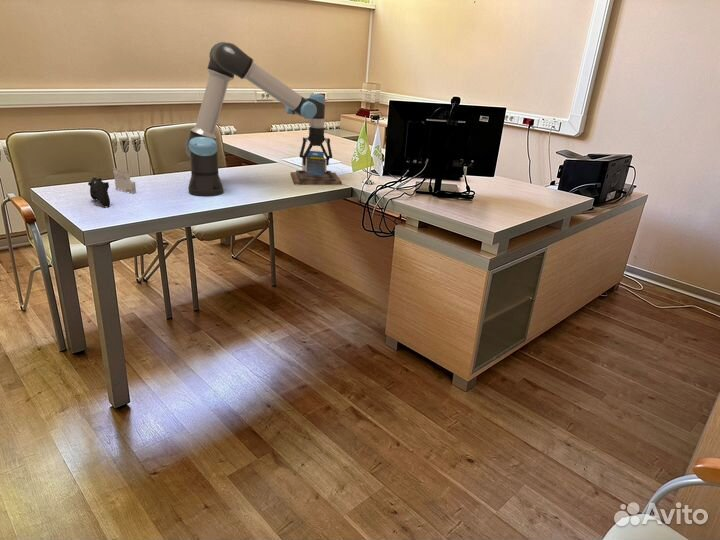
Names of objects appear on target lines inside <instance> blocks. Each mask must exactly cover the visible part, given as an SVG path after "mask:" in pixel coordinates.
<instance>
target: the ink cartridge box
mask: <svg viewBox="0 0 720 540" xmlns="http://www.w3.org/2000/svg"><path fill="white" fill-rule="evenodd" d="M112 171H113V176H114V185H115V190H116V189H119V190H118V191H120V190H122V191H121V192H124V191H125V192H124V193H127V192H129V193H128V194H131V193H133V194H136V193H137V190H136V186H137V185H136V181H135V180H131V175H130V171H128V170H124V169H120V168H115V167H112ZM120 172H121V173H120ZM122 173H123V174H122Z"/></svg>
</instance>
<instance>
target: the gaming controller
mask: <svg viewBox="0 0 720 540" xmlns="http://www.w3.org/2000/svg"><path fill="white" fill-rule="evenodd" d="M109 183H110V182H108V181H107V182H105V181H104V182H103V180H102V178H101V177H100V178H97V177H92V179H91V180H90V181H88V183H87V184H88V186H90V187H89V194H90V197H91V199H92V200H94V199H98V200H97V202H99V203H100V204H101V206H103V207H105V206H108V207H109V206H110V204H111V198H110V196H109V193H108V189H109V188H110V184H109Z"/></svg>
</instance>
